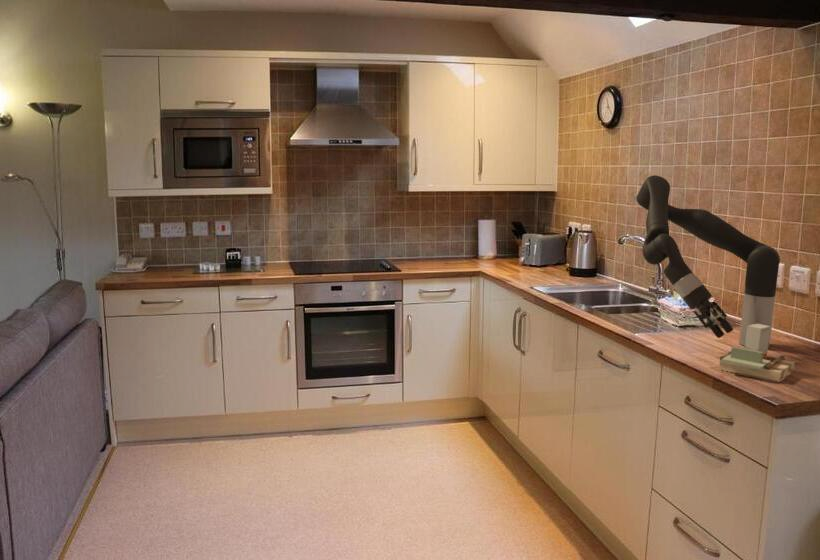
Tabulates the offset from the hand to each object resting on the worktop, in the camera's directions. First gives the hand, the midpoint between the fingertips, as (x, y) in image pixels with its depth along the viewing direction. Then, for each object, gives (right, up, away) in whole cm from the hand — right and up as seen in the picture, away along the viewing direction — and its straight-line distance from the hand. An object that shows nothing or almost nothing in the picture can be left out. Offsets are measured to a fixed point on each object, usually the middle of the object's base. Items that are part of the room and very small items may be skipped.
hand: (726, 334), depth 209 cm
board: (+6, -10, -7) cm, 14 cm away
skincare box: (+7, -9, -4) cm, 12 cm away
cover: (+1, -7, -11) cm, 13 cm away
